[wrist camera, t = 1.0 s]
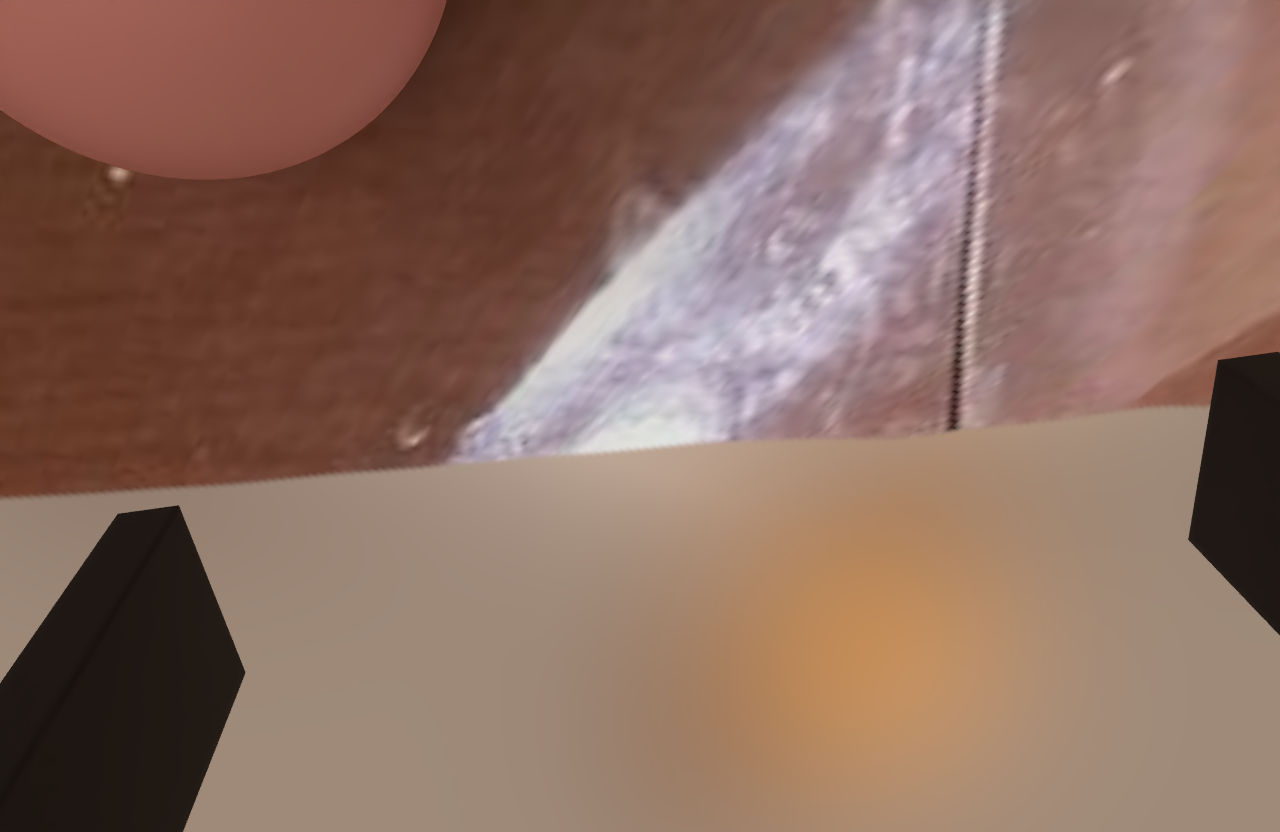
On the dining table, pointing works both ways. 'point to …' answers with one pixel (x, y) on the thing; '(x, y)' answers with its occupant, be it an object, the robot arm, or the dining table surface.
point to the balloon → (207, 77)
